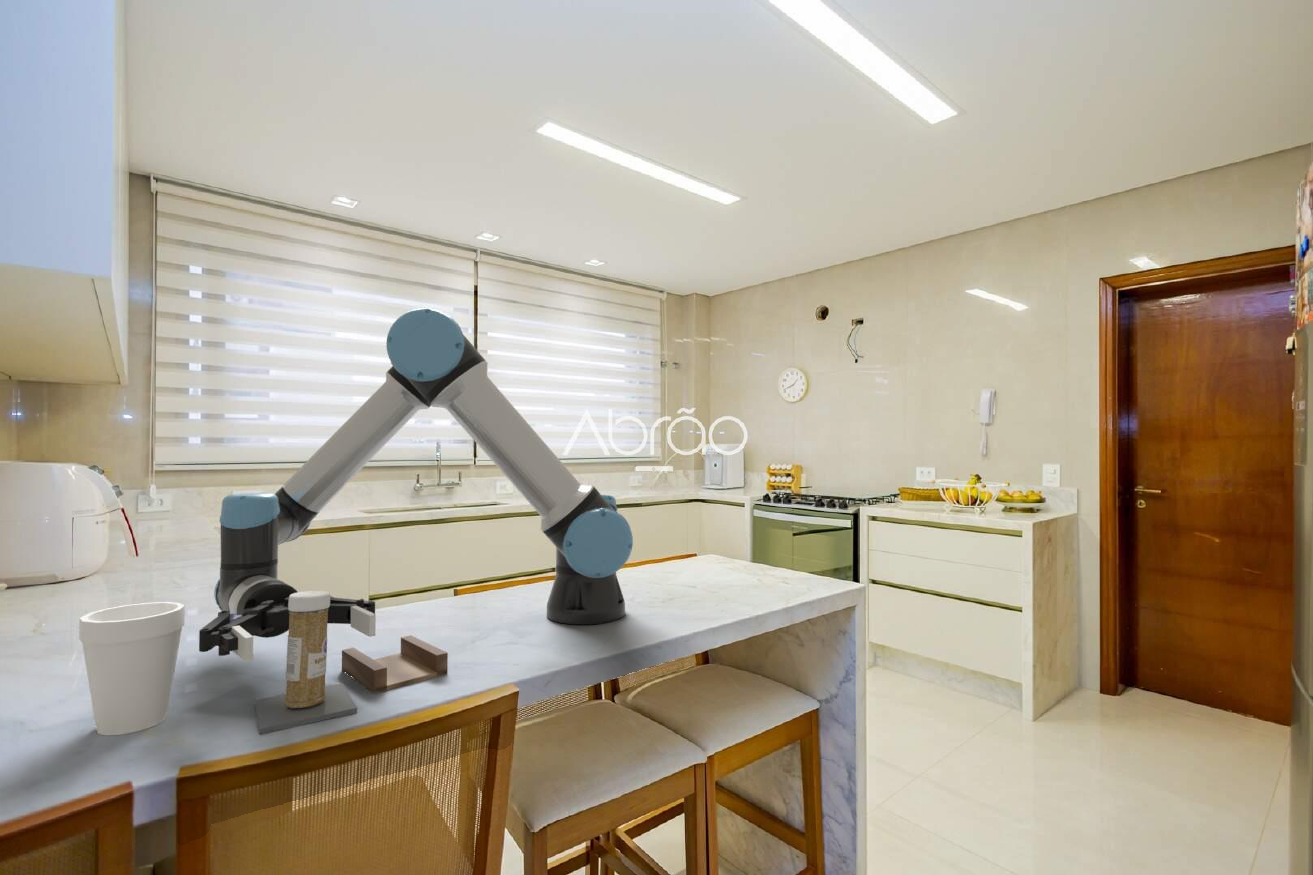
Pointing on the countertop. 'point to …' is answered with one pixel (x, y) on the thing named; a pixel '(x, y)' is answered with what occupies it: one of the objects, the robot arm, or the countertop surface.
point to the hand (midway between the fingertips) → (314, 636)
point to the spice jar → (307, 648)
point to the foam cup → (131, 663)
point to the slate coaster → (303, 710)
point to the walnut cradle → (396, 665)
